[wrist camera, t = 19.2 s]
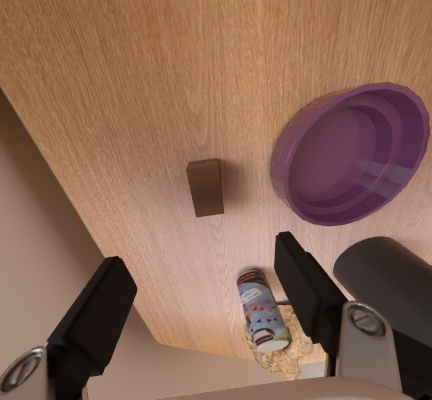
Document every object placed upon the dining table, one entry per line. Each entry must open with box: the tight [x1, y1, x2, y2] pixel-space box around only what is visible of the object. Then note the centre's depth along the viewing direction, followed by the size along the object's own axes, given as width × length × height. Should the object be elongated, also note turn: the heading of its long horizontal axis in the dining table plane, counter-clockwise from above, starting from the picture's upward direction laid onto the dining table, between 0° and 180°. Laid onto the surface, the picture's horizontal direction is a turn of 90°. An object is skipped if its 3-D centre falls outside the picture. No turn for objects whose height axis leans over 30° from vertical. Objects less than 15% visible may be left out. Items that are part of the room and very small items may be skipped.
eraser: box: [186, 158, 224, 217], centre depth 23 cm, size 7×4×4 cm, turn 7°
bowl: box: [271, 82, 430, 226], centre depth 22 cm, size 17×17×5 cm
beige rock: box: [246, 304, 313, 381], centre depth 40 cm, size 18×14×8 cm
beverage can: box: [237, 270, 288, 353], centre depth 29 cm, size 6×7×12 cm
